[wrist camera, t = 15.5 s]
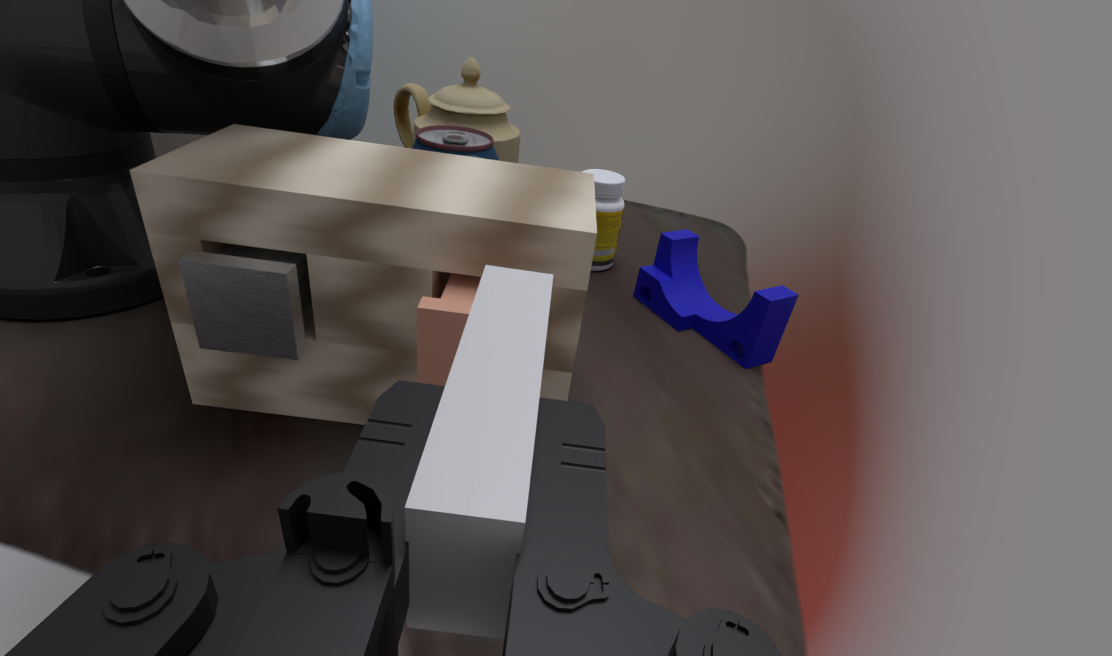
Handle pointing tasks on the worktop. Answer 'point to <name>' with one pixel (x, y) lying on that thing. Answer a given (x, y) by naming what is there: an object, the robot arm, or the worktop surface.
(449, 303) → the terracotta plug
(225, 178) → the housing
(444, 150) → the soda can
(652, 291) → the blue curved cradle
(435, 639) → the worktop surface
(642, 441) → the worktop surface
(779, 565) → the worktop surface
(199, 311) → the grey plug
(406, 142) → the sugar bowl
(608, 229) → the supplement bottle
